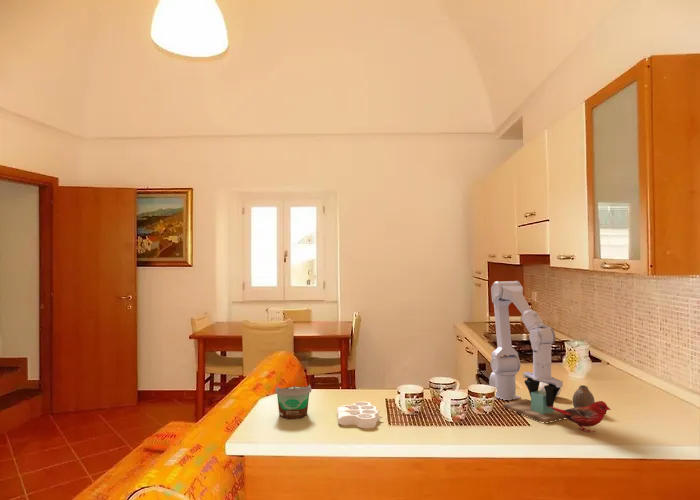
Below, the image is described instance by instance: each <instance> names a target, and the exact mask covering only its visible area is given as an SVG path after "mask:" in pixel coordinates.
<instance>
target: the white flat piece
mask: <svg viewBox="0 0 700 500" xmlns="http://www.w3.org/2000/svg"><path fill="white" fill-rule="evenodd" d="M380 412H381V411H380V410H378V408H377V407H376V406H375V405H372V403H371V402H368V401H357V402H354V403H353V404H344V405H339V406H337V408H336V414H337V421H338V422H337V423H338V424H339V425H341V426H356V427H358V428H360V429H372V428H373V429H374V428H375V427H377V423H378V422H379V420H380V419H383V418H384V417H383V416H382V415H380V414H379V413H380Z"/></svg>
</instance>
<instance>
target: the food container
mask: <svg viewBox="0 0 700 500" xmlns="http://www.w3.org/2000/svg"><path fill="white" fill-rule="evenodd" d="M274 390H275V391H274V393H275V394H276V395H277V406H278V415H279V417H280V418H281V417H282V419H285V420H300V419H304V418H305V416H306V417H307V416H308V409H309V408H308V407H309V399H310V393H311V392H312V387H311V384H310V383H309V385H308V386H289V387H284V388H283V387H282V388H281V387H278V386H276V388H275V389H274Z"/></svg>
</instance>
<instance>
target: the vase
mask: <svg viewBox="0 0 700 500" xmlns="http://www.w3.org/2000/svg"><path fill="white" fill-rule="evenodd" d="M594 402H596V401H595V397H594V394H593V393H592V392H591V391H590V389H589V388H588V386H587V385H584V384H583V385H579V386H578V388H577V389H576V390H575V392H574V393H573V396H572V406H573V408H577V407H586V406H590V405H591V404H593V403H594Z"/></svg>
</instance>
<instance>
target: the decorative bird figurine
mask: <svg viewBox="0 0 700 500" xmlns="http://www.w3.org/2000/svg"><path fill="white" fill-rule="evenodd" d="M548 407H550V408H552V409H554V410H556V411H558V412H560V413H562V414H563V415H564V416H565V417H566V418H567V419H566V420H569V421H570V422H572V423H574V424H576V425H577V426H578V428H576V430H580V431H582V432H585V433H586V432H587V433H595V432H596V431H594V430H590V429H588V428H589V427H593V426H596V425H598V424H600V423H601V422H602V421H603V420H604V417H605V415H607V411H611V408H610V407H609V406H608V405H607V403H606V402H605V401H603V400H599V401H595V402H594V403H593V404H591V405H590V406H586V407H577V408H574V407H572V408H568V409H561V408H558V407H554V406H553V407H551V406H548ZM585 427H587V428H585Z"/></svg>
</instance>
